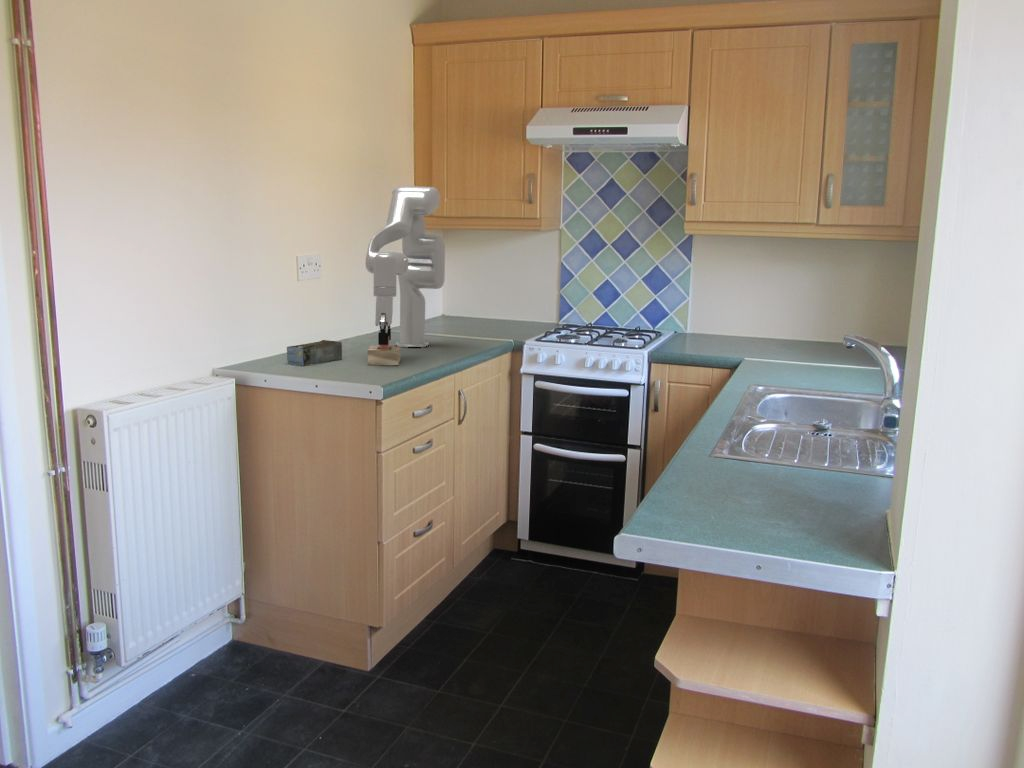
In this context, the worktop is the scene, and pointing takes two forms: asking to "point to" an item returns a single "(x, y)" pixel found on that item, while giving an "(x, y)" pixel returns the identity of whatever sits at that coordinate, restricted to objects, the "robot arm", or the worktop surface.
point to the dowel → (385, 345)
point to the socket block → (384, 355)
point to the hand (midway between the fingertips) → (384, 342)
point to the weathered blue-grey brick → (314, 352)
